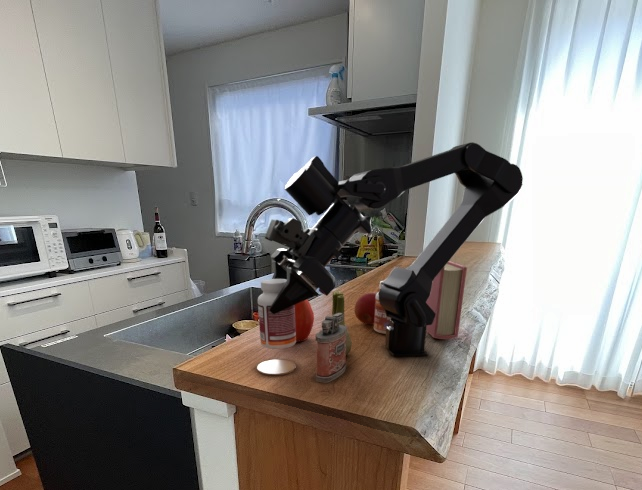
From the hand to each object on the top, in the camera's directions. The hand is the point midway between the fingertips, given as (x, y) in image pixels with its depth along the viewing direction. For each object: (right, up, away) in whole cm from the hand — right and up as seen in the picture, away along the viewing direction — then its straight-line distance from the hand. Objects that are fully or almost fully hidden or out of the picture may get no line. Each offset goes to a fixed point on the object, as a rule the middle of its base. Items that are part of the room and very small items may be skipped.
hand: (266, 307), depth 63 cm
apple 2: (+24, 0, +26) cm, 35 cm away
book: (+34, +4, +20) cm, 40 cm away
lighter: (+11, -11, +1) cm, 16 cm away
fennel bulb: (+13, -8, +10) cm, 18 cm away
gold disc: (+1, -10, +4) cm, 11 cm away
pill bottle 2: (+26, -3, +23) cm, 35 cm away
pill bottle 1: (+2, -6, +3) cm, 7 cm away
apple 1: (+5, -5, +19) cm, 21 cm away
